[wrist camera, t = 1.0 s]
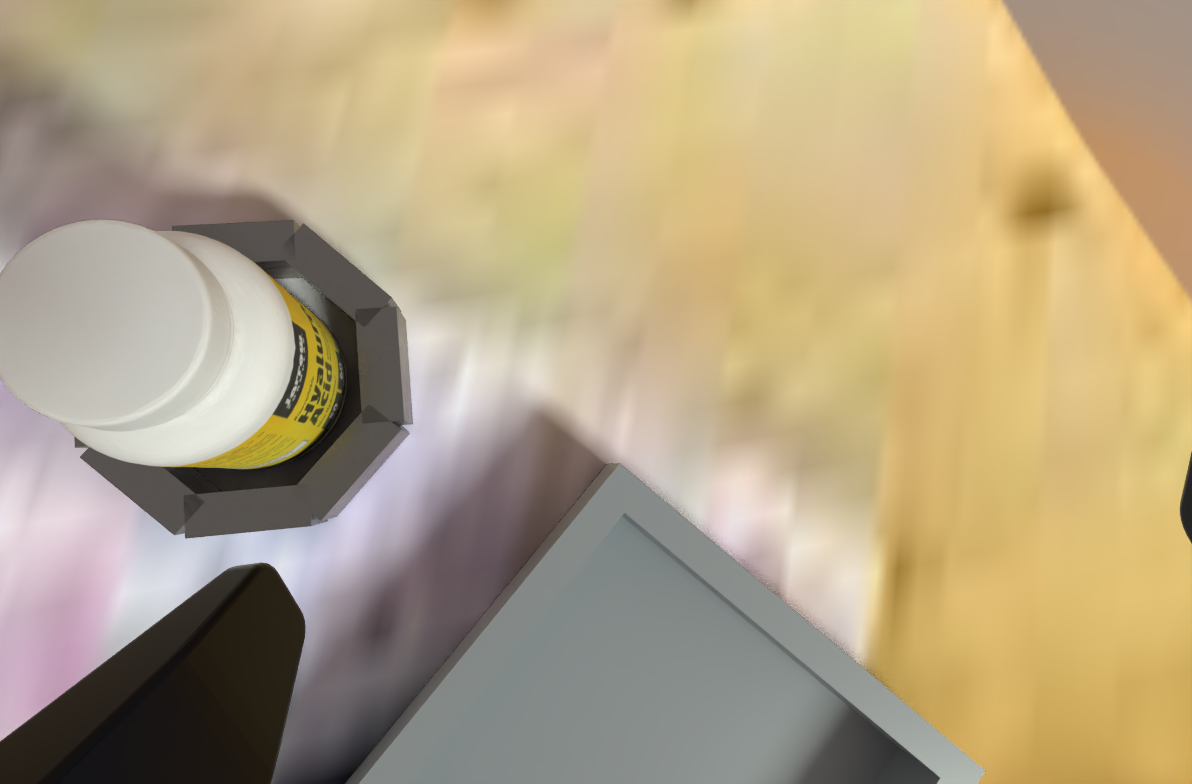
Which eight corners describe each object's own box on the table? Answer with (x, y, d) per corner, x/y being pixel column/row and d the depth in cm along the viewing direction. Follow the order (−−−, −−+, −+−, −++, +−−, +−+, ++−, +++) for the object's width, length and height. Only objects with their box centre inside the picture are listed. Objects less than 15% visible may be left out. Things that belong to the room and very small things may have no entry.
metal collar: (274, 588, 23) (252, 599, 21) (45, 398, 23) (1, 392, 21) (467, 367, 24) (464, 358, 22) (253, 186, 24) (230, 161, 22)
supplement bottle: (368, 446, 24) (272, 430, 14) (191, 487, 23) (-38, 501, 13) (332, 282, 24) (214, 158, 15) (157, 318, 23) (-90, 212, 14)
